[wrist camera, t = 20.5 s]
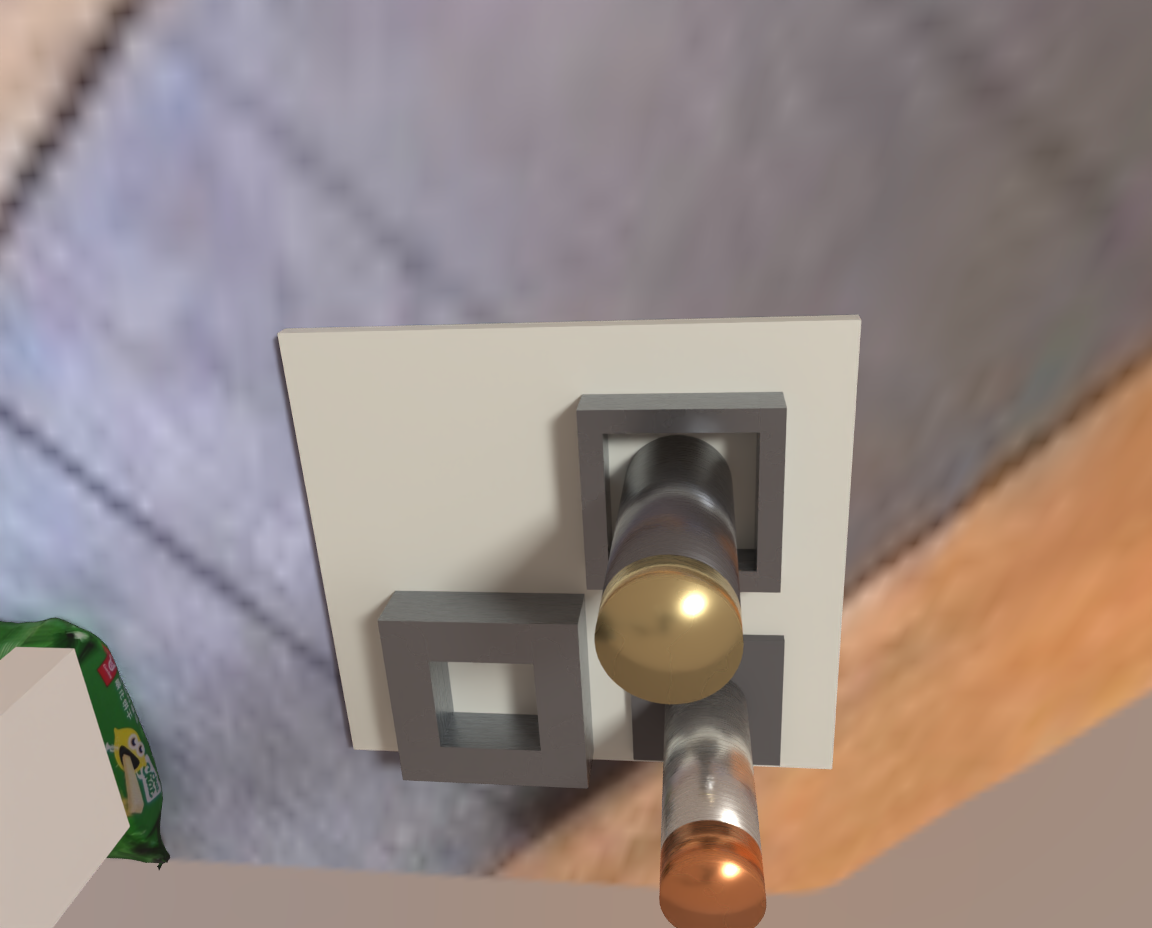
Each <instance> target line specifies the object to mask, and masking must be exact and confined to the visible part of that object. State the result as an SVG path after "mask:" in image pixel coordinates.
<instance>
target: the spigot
mask: <svg viewBox="0 0 1152 928" xmlns="http://www.w3.org/2000/svg"><path fill="white" fill-rule="evenodd" d="M594 642H595V650H596V653H597V657H598V659H599V661H600V664H601V666H602V667H603V669H604V670H605V672H606V673H607V675H608V676H609V677H610V678H611V679H612V680H613V681H614V682H615V683H616V684H617V685H618V686H620V687H621V688H622V689H624V690H625V691H627V692H628V693H630V694H632V695H634V696H636V697H638V698H641V699H644V700H647V701H650V702H655V703H660V704H684V703H690V702H694V701H698V700H701V699H703V698H706V697H708V696H710V695H712V694H714V693H715V692H717V691H718V690H720V689H721V688H722V687H723V686H724V685H726V684H727V683H728V682H729V680H730V679H731V678H732V677H733V675H734V674H735V672H736V671H737V669H738V667H739V664H740V662H741V659H742V655H743V646H744V644H743V628H742V614H741V600H740V585H739V571H738V557H737V542H736V528H735V514H734V499H733V485H732V476H731V472H730V469H729V466H728V464H727V462H726V460H725V459H724V458H723V456H722V455H721V454H720V453H719V452H718V451H717V450H716V449H715V448H714V447H713V446H711V445H710V444H708V443H707V442H705V441H703V440H701V439H698V438H695V437H692V436H686V435H669V436H664V437H661V438H658V439H655V440H653V441H651V442H649V443H647V444H646V445H644V446H643V447H642V448H641V449H640V450H639V451H638V452H637V453H636V454H635V455H634V456H633V458H632V459H631V461H630V463H629V465H628V467H627V470H626V474H625V479H624V485H623V490H622V495H621V500H620V505H619V510H618V515H617V520H616V525H615V531H614V536H613V541H612V546H611V551H610V556H609V561H608V566H607V572H606V577H605V582H604V587H603V592H602V597H601V602H600V607H599V613H598V618H597V623H596V628H595V637H594Z"/></svg>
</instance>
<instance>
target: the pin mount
mask: <svg viewBox="0 0 1152 928" xmlns="http://www.w3.org/2000/svg"><path fill="white" fill-rule="evenodd" d="M377 621H378V627H379V633H380V639H381V646H382V652H383V658H384V664H385V670H386V677H387V683H388V689H389V695H390V701H391V708H392V714H393V720H394V726H395V733H396V739H397V745H398V751H399V757H400V764H401V770H402V776H403V780H412V781H434V782H456V783H478V784H499V785H521V786H543V787H565V788H587V789H588V786H589V779H590V773H591V767H592V760H593V754H594V744H593V727H592V711H591V694H590V677H589V660H588V643H587V626H586V610H585V594H570V593H510V592H450V591H395V592H394V593H393V595H392V597H391V599H390V600H389V602H388V604H387V605H386V607H385V609H384V610H383V612H382V614H381V615H380V617H379V619H378V620H377ZM448 662H471V663H508V664H533V666H534V678H535V689H536V701H537V712H538V715H528V714H500V713H471V712H454V708H453V700H452V692H451V685H450V677H449V669H448Z"/></svg>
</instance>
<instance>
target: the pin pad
mask: <svg viewBox="0 0 1152 928" xmlns="http://www.w3.org/2000/svg"><path fill="white" fill-rule="evenodd" d="M743 644H744V646H743V655H742V659H741V662H740V664H739V667H738V669H737V671H736V672H735V674H734V675H733V677H732V678H731V679H730V680H731V681H733V682H734V683H735V684H737V685H738V687H739V688H740V689H741V690H742V692H743V693H744V695H745V698H746V702H747V710H748V720H749V730H750V741H751V751H752V761H753V765H771V766H780V754H781V728H782V701H783V675H784V648H785V640H784V635H747V634H743ZM631 707H632V733H633V758H634V760H650V761H663V760H664V726H665V704H660V703H655V702H650V701H647V700H644V699H641V698H638V697H636V696H634V695H632V694H631Z"/></svg>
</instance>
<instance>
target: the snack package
mask: <svg viewBox="0 0 1152 928" xmlns="http://www.w3.org/2000/svg"><path fill="white" fill-rule="evenodd" d="M15 647H37V648H74V649H75V652H76V656H77V659H78V662H79V665H80V668H81V672H82V675H83V678H84V681H85V684H86V688H87V691H88V694H89V697H90V700H91V704H92V707H93V710H94V713H95V716H96V720H97V723H98V726H99V729H100V732H101V736H102V739H103V742H104V745H105V748H106V752H107V755H108V758H109V761H110V764H111V768H112V771H113V774H114V777H115V780H116V784H117V787H118V790H119V793H120V796H121V800H122V803H123V806H124V809H125V812H126V815H127V819H128V822H129V825H130V827H129V828H128V830H127V831H126V832H125V834H124V835H123V836H122V838H121V839H120V840H119V842H118V843H117V844H116V846H115V847H114V848H113V850H112V851H111V852H110V853H109V855H108V856H107V857H106V858H122V859H132V860H137V861H141V862H145V863H159V865H158V866H157V867H158V868H159V870H160V868H161V866H162V864H163V863H165V862H168V860H169V859H170V855H169V853H168V852H167V850H166V849H165V847H164V845H163V842H162V840H161V835H160V819H161V809H162V801H163V796H162V787H161V783H160V779H159V776H158V772H157V769H156V765H155V762H154V758H153V756H152V753H151V750H150V747H149V744H148V741H147V739H146V736H145V734H144V732H143V729H142V727H141V724H140V722H139V719H138V717H137V714H136V712H135V709H134V706H133V703H132V701H131V699H130V696H129V694H128V693H127V691H126V689H125V686H124V684H123V682H122V680H121V677H120V674H119V672H118V669H117V666H116V663H115V661H114V659H113V657H112V655H111V653H110V651H109V649H108V647H107V646H106V645H105V644H104V643H103V641H102V640H100V639H99V638H98V637H97V636H95V635H94V634H92V633H91V632H89V631H87V630H84V629H81V628H79V627H77V626H75V625H73V624H71V623H69V622H67V621H64V620H62V619H59V618H50V619H47V620H44V621H39V622H24V623H13V622H2V621H0V660H1V659H2V658H3V657H5V656H6V655H7V654H8V653H9V652H11V651H12V650H13V649H14V648H15Z"/></svg>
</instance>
